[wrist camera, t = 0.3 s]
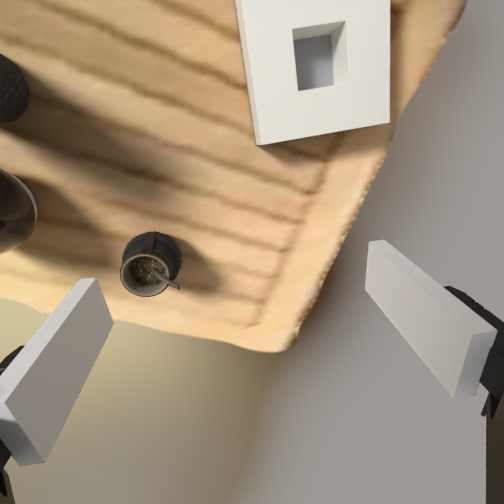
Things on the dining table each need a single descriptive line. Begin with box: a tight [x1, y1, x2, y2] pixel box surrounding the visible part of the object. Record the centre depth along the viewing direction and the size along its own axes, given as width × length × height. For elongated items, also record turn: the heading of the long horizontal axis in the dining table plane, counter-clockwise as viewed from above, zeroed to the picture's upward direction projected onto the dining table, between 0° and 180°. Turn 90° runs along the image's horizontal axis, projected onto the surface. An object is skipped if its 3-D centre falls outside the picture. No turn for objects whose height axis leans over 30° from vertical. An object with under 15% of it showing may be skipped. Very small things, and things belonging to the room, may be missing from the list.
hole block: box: [234, 0, 390, 145], centre depth 33 cm, size 15×15×5 cm
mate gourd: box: [120, 231, 182, 297], centre depth 36 cm, size 7×8×10 cm
